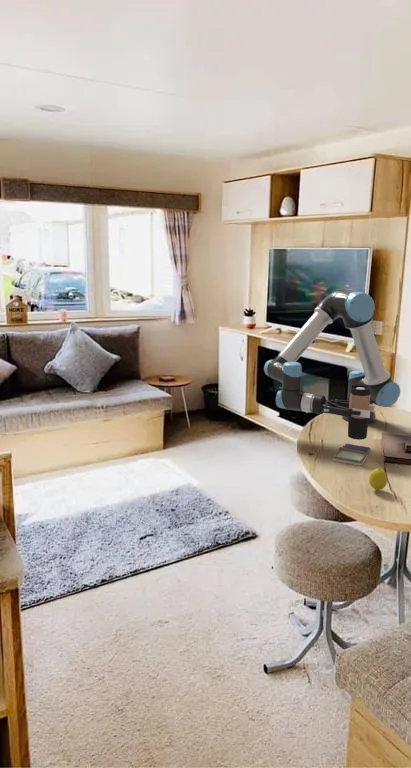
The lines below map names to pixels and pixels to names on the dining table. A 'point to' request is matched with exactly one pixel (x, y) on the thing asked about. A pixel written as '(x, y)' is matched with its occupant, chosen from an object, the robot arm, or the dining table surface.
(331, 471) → the dining table surface
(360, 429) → the travel mug
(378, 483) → the lemon
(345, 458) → the box
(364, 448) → the ink pad
